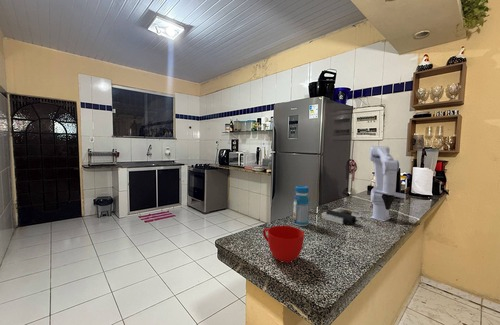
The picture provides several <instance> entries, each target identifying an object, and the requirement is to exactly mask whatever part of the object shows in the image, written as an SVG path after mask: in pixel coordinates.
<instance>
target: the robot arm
mask: <svg viewBox="0 0 500 325" xmlns="http://www.w3.org/2000/svg"><path fill="white" fill-rule="evenodd" d="M369 159H370V161H371V162H372V163H373V167H374V182H375V187H373V188H372V189H371V191H370V201H371V202H372V205H373V206H372V215H371V216H369V218H370V219H373V220H377V221H381V222H386V221H389V219H391V217H390V210H391V206H392V204H393V202H394V201H395V199H397V198H401V199H406V197H407V195H406V193H401V192H396V189H397V174H398V172H399V169H400V162H399V160H397V159H394V156H392V155H391V154H390V146H388V145H385V146H382V145H379V146H377V145H375V146H374V145H371V146H370V147H369ZM396 197H397V198H396Z"/></svg>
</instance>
